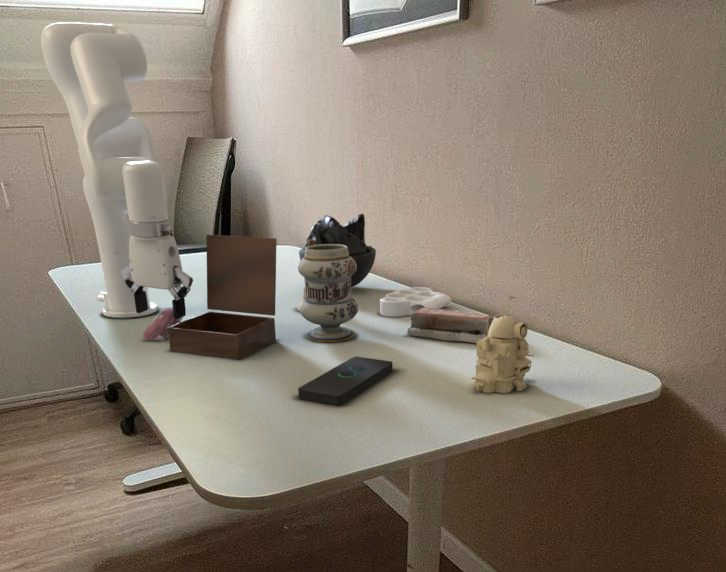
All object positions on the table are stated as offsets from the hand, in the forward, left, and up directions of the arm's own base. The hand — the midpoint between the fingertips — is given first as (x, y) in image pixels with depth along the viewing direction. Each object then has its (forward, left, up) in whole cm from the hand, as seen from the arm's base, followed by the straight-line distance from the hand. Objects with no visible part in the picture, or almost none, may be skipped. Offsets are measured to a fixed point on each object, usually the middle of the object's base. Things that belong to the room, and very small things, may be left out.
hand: (161, 314), depth 150 cm
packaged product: (+58, +21, -5) cm, 62 cm away
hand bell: (+20, +31, -5) cm, 37 cm away
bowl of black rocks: (+16, +53, -5) cm, 56 cm away
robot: (+75, -7, -4) cm, 75 cm away
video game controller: (+1, -1, -5) cm, 5 cm away
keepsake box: (+17, -3, -4) cm, 18 cm away
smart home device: (+50, -15, -4) cm, 52 cm away
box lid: (+17, +5, +8) cm, 20 cm away
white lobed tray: (+42, +39, -4) cm, 58 cm away
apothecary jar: (+34, +11, -4) cm, 36 cm away
